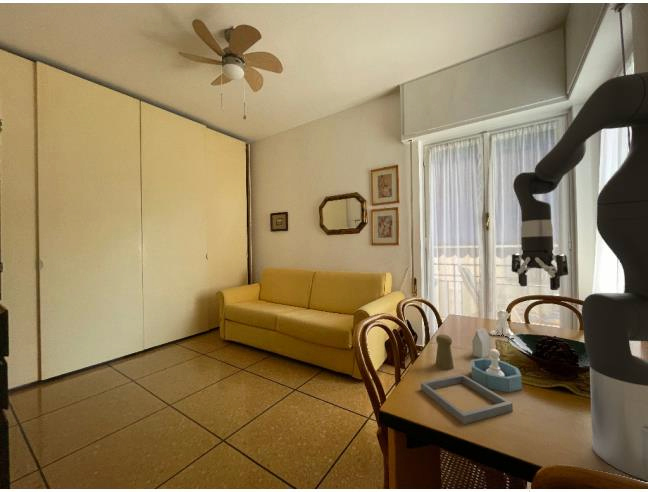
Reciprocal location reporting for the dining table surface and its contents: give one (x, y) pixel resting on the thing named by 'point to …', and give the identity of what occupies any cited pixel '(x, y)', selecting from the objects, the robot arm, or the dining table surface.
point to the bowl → (502, 383)
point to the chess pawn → (494, 363)
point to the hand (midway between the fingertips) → (538, 287)
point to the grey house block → (481, 343)
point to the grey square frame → (477, 414)
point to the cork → (444, 352)
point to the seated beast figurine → (502, 324)
